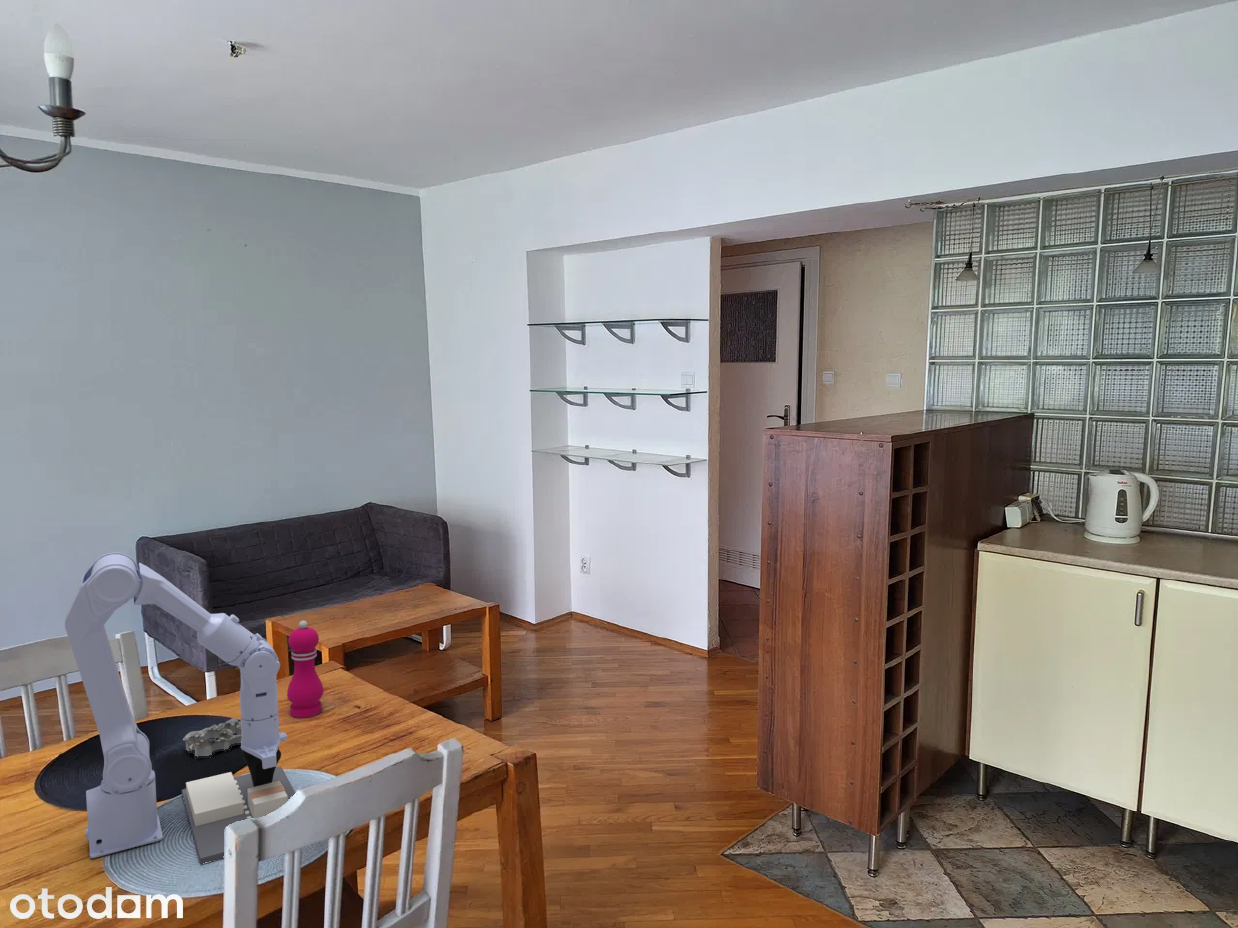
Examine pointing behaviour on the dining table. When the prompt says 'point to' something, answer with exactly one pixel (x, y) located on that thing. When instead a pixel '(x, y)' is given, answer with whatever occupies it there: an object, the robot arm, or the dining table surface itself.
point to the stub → (266, 798)
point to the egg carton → (222, 731)
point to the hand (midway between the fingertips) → (262, 792)
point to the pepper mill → (304, 673)
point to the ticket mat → (216, 829)
